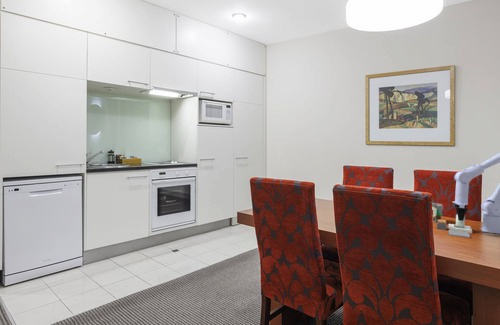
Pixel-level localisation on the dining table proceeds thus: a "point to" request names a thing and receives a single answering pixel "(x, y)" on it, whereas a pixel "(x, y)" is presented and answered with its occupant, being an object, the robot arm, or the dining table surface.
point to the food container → (437, 211)
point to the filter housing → (454, 228)
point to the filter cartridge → (459, 222)
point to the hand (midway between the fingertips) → (460, 219)
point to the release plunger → (442, 221)
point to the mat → (459, 233)
